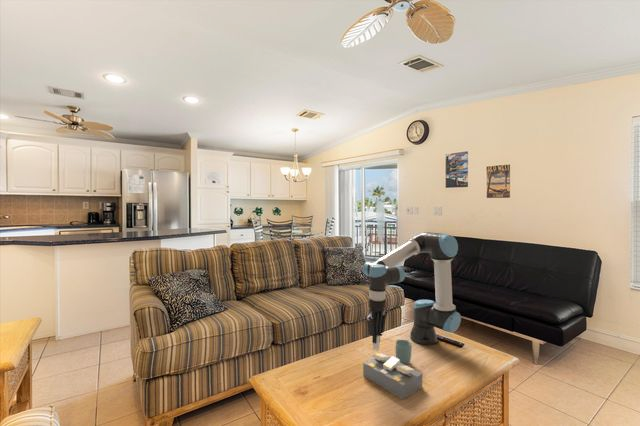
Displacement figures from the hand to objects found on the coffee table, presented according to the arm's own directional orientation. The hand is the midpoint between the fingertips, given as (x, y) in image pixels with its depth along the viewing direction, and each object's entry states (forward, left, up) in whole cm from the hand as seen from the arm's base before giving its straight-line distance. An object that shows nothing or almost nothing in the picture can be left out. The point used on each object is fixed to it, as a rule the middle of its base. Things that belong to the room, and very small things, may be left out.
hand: (376, 349), depth 142 cm
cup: (-21, 0, -13) cm, 25 cm away
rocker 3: (-3, +14, -6) cm, 15 cm away
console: (-3, +7, -13) cm, 15 cm away
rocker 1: (-3, 0, -6) cm, 7 cm away
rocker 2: (-3, +7, -6) cm, 10 cm away
